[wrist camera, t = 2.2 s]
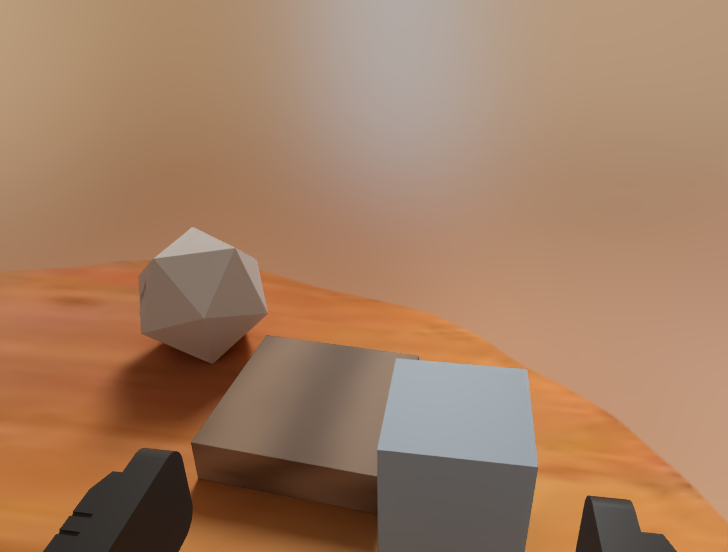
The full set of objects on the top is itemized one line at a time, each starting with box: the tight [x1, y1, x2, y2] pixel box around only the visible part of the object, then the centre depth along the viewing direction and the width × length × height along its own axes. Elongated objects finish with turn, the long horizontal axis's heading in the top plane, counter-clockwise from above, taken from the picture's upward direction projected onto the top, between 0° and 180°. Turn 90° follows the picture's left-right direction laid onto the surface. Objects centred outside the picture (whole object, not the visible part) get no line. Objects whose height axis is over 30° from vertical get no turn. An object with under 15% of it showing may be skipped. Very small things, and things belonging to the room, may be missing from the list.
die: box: [139, 227, 268, 364], centre depth 42 cm, size 8×9×10 cm
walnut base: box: [191, 335, 419, 514], centre depth 35 cm, size 10×10×3 cm
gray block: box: [377, 358, 538, 552], centre depth 26 cm, size 6×6×9 cm
